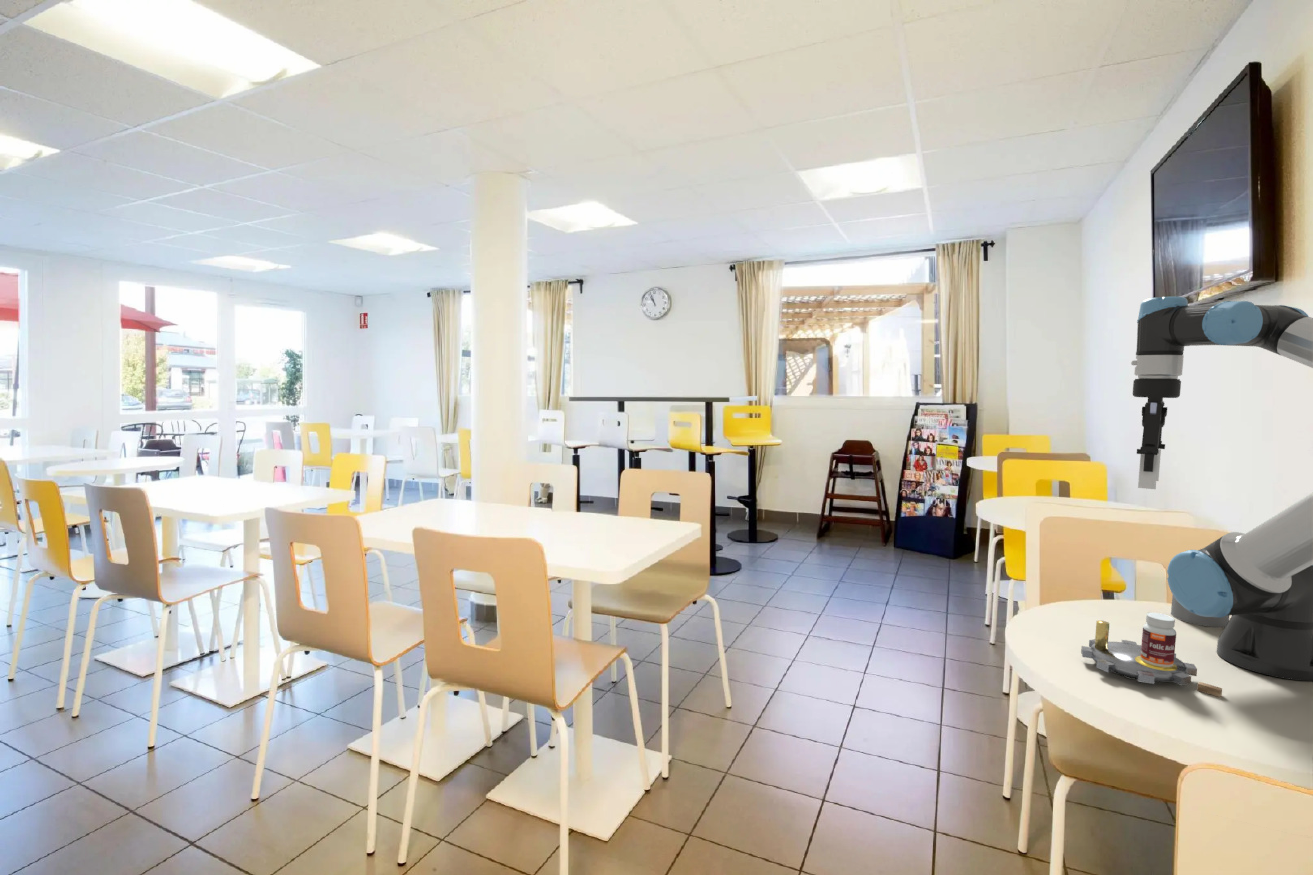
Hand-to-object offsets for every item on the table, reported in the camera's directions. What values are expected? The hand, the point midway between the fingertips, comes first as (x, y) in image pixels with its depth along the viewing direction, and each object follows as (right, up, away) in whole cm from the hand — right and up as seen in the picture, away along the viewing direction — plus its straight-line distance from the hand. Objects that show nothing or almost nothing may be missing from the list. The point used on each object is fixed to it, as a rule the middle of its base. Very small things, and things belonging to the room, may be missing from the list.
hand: (1148, 484), depth 133 cm
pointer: (-5, -34, -21) cm, 40 cm away
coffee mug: (+23, -31, +16) cm, 42 cm away
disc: (-12, -32, -13) cm, 36 cm away
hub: (-12, -33, -13) cm, 37 cm away
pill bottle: (-10, -31, -15) cm, 36 cm away
